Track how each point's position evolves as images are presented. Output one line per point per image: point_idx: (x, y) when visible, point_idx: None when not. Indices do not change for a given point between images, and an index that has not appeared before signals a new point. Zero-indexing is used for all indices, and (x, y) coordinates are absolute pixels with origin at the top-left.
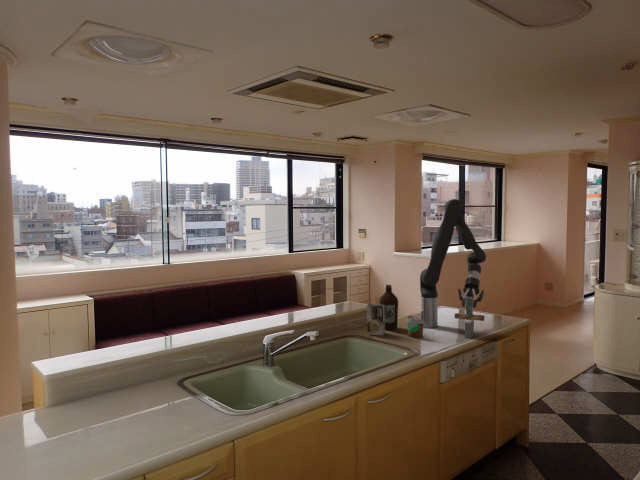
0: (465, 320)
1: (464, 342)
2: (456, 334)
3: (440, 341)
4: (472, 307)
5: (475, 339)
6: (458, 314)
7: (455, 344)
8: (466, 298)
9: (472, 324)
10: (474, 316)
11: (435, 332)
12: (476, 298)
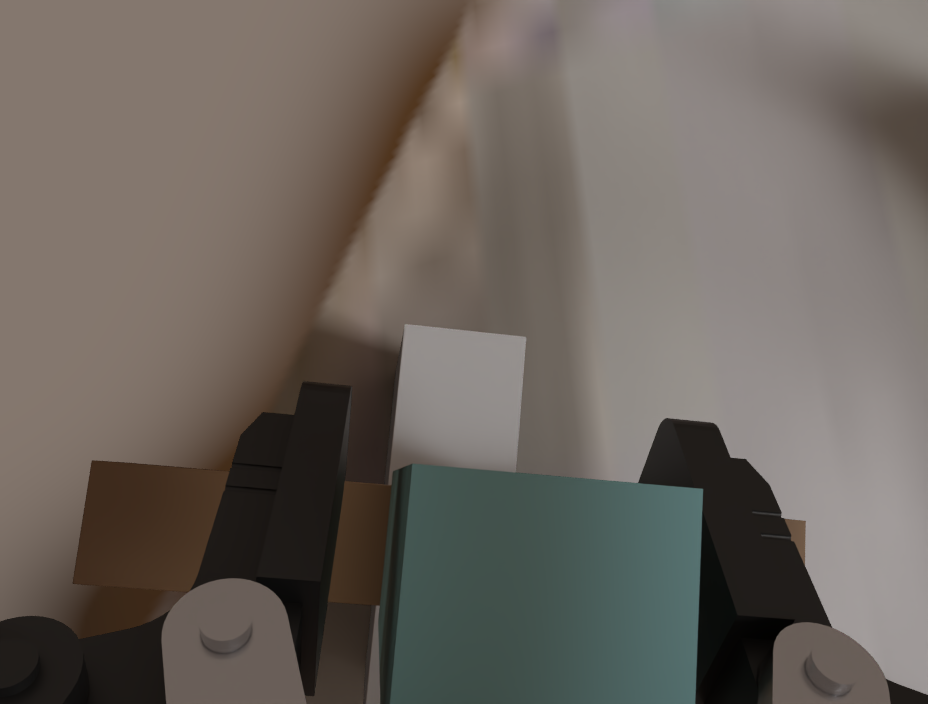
0: (516, 381)
1: (460, 140)
2: None
3: (758, 106)
4: (385, 593)
5: (323, 337)
6: None
7: (560, 20)
8: (677, 487)
9: None
10: None
11: (918, 558)
12: (179, 654)
